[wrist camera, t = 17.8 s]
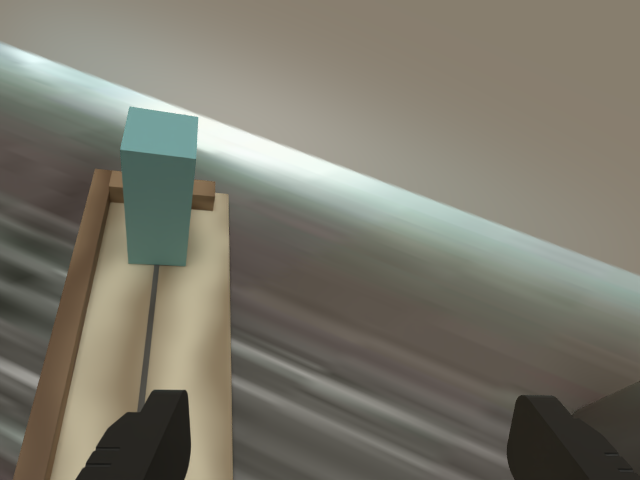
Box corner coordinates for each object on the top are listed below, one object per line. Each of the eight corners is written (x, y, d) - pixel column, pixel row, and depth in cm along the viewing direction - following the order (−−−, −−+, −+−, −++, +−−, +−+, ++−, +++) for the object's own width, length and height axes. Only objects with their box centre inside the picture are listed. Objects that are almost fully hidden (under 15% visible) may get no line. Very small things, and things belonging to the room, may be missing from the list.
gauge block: (188, 226, 39) (198, 117, 31) (185, 266, 36) (195, 159, 28) (135, 222, 38) (129, 106, 29) (128, 263, 35) (120, 149, 26)
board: (226, 204, 44) (230, 180, 42) (230, 562, 26) (239, 557, 24) (98, 192, 41) (94, 164, 38) (-2, 599, 22) (-22, 599, 20)
